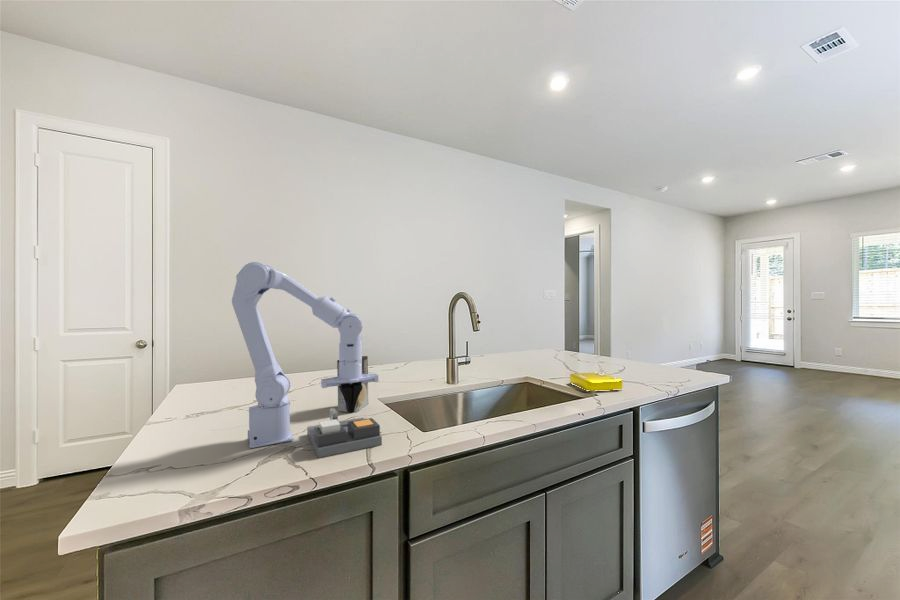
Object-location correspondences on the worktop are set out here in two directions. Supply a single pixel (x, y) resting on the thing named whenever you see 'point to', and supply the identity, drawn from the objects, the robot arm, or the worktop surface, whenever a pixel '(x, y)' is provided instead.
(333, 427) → the grey button
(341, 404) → the coffee box
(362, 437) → the panel
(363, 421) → the orange button
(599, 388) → the element tile
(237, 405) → the worktop surface
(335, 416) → the paddle
